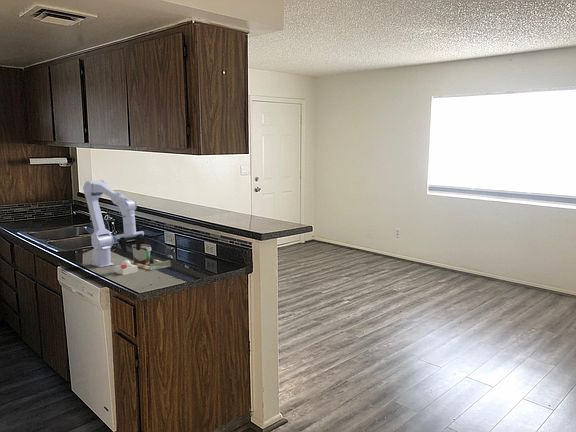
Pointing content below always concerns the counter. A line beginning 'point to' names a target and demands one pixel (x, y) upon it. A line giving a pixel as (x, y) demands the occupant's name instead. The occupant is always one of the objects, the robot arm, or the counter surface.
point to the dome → (126, 263)
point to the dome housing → (125, 269)
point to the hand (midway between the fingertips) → (131, 251)
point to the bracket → (155, 265)
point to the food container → (142, 254)
